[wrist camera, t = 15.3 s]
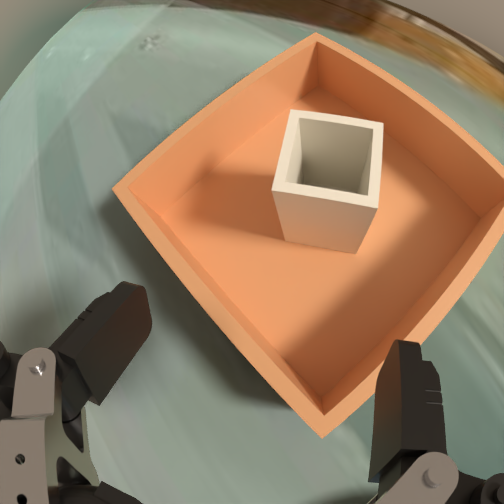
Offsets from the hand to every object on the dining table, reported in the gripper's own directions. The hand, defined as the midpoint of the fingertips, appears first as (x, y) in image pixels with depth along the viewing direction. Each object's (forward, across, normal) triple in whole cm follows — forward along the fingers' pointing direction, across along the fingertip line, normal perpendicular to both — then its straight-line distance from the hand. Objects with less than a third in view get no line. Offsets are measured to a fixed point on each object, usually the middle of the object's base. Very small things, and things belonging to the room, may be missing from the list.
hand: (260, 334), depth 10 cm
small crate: (+17, -1, +3) cm, 18 cm away
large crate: (+18, -1, +4) cm, 18 cm away
